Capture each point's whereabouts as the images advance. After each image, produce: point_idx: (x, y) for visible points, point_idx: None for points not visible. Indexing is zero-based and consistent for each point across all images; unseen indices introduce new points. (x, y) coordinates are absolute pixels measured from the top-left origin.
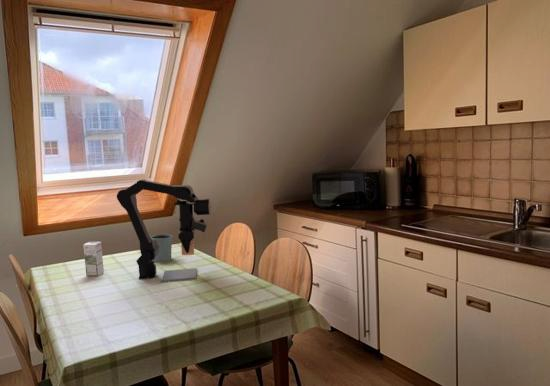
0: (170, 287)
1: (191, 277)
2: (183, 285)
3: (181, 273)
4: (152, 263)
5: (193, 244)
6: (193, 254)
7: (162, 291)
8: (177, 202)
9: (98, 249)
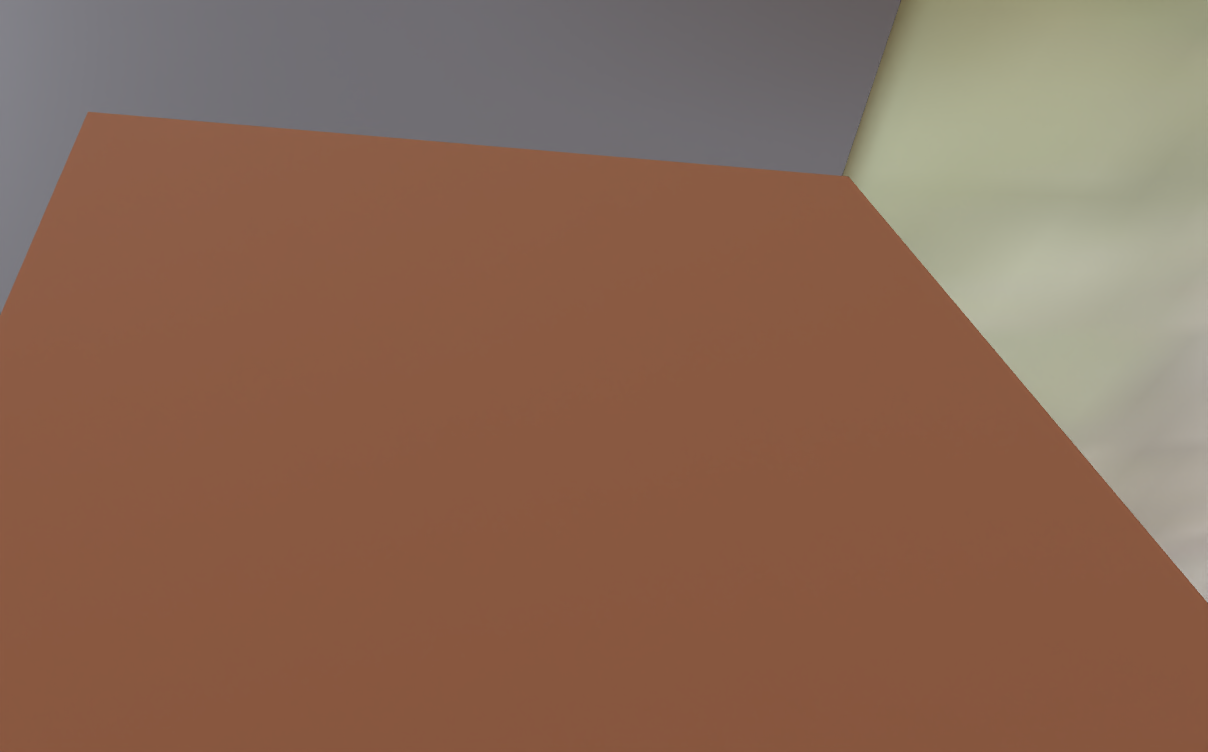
0: (1087, 416)
1: (865, 13)
2: (1150, 202)
3: None
4: None
5: (1002, 609)
6: (844, 194)
7: (1187, 510)
8: None
9: None
